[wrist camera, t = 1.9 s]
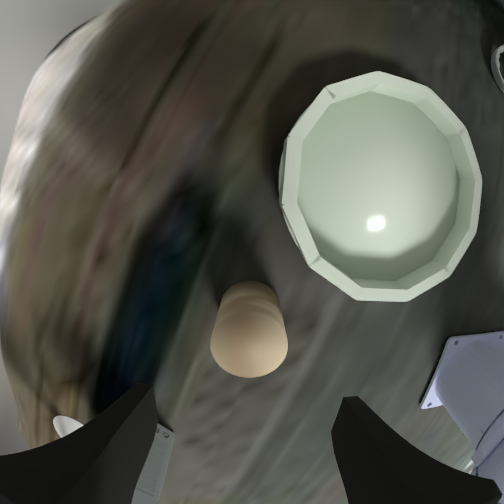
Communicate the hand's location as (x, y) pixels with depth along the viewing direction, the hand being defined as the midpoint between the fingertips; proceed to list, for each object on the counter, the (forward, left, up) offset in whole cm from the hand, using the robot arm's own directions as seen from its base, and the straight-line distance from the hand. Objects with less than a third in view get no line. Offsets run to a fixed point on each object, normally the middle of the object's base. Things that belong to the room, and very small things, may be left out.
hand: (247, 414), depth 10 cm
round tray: (-8, -9, -10) cm, 16 cm away
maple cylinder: (0, 0, -10) cm, 10 cm away
